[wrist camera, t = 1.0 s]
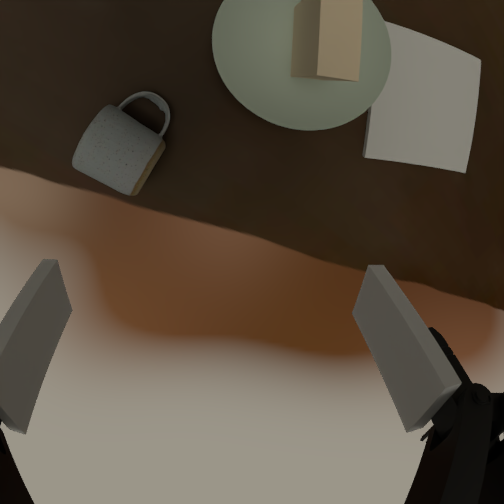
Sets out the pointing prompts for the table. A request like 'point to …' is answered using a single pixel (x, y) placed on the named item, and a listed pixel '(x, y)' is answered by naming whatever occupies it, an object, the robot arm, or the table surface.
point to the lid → (302, 58)
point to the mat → (424, 104)
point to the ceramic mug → (121, 147)
